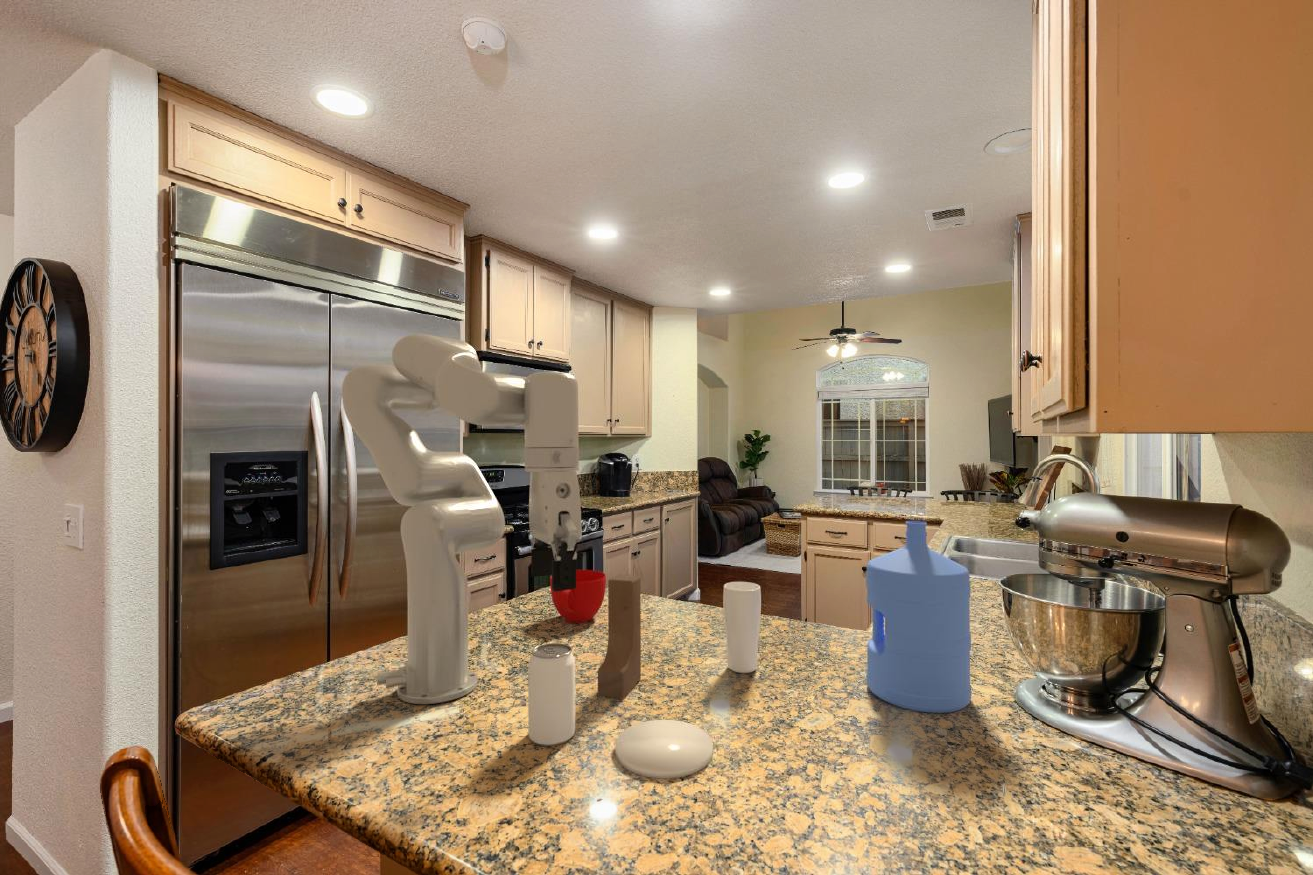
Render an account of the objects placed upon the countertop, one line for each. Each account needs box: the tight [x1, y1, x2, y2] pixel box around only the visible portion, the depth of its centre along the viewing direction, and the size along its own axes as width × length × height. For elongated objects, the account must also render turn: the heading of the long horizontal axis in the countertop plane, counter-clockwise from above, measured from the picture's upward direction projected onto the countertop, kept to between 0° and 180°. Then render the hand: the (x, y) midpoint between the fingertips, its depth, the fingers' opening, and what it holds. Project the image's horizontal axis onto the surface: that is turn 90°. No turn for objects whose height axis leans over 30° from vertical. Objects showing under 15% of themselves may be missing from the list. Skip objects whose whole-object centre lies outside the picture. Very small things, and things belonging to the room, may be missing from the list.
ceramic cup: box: [549, 569, 607, 624], centre depth 135 cm, size 13×17×10 cm
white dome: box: [615, 719, 714, 779], centre depth 78 cm, size 13×13×1 cm
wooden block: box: [597, 573, 642, 700], centre depth 98 cm, size 9×4×18 cm, turn 162°
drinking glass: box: [722, 581, 762, 674], centre depth 106 cm, size 7×7×15 cm
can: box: [527, 642, 576, 747], centre depth 82 cm, size 6×6×12 cm
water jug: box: [865, 520, 972, 714], centre depth 96 cm, size 16×16×28 cm
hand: (552, 582), depth 82 cm, fingers open, 9 cm apart
